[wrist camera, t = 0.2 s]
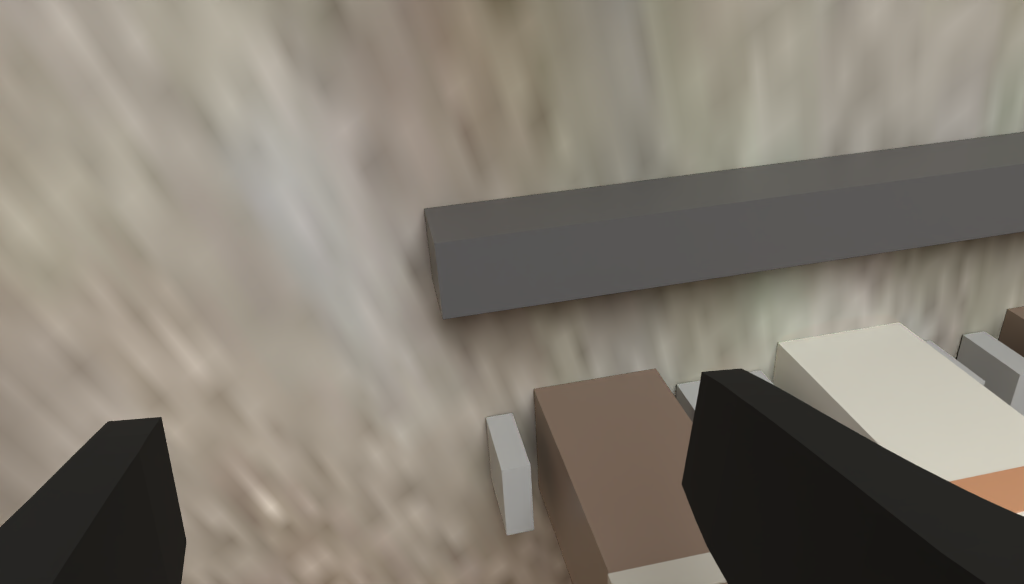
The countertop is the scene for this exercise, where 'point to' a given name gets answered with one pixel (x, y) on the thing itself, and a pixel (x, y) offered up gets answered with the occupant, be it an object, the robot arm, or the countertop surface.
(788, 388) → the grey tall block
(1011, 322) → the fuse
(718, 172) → the clip block
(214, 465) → the countertop surface
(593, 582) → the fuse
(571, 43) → the countertop surface
